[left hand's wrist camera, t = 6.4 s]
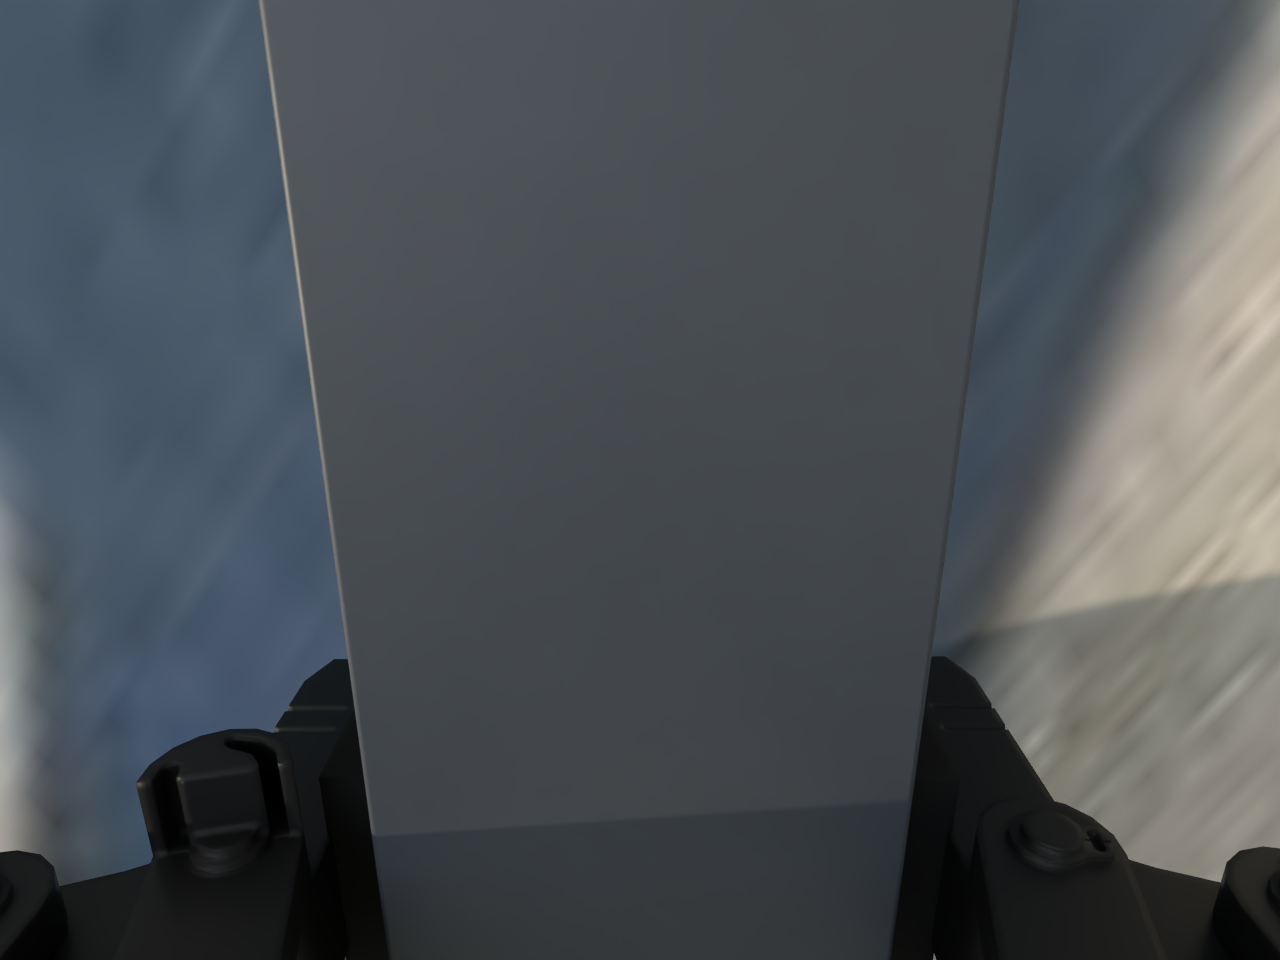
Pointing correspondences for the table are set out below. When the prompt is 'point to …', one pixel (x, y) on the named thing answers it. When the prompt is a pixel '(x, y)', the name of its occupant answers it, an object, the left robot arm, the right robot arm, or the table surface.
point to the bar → (639, 447)
